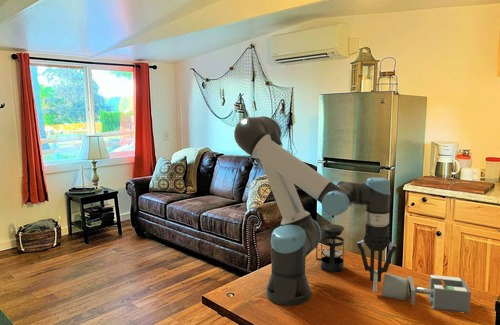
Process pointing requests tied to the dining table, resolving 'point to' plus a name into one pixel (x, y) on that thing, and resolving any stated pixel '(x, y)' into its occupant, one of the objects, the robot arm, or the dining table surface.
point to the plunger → (419, 290)
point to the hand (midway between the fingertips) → (375, 290)
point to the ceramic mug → (395, 287)
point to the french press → (332, 249)
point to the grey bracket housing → (449, 294)
